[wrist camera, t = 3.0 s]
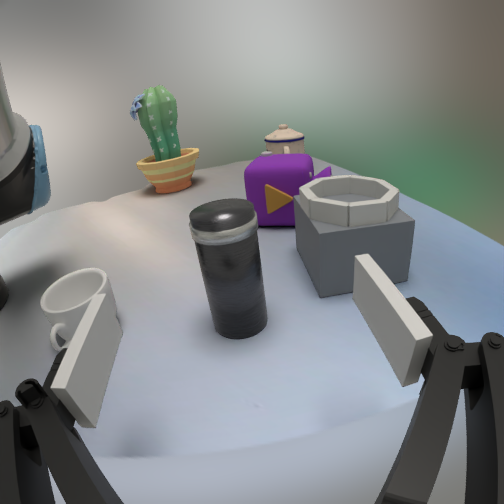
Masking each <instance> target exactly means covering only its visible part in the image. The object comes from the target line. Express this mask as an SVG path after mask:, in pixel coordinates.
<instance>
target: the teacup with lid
mask: <svg viewBox="0 0 504 504" xmlns="http://www.w3.org/2000/svg"><path fill="white" fill-rule="evenodd" d="M265 141H266V148H267V151H270V152H272V154H297V153H300V154H305V152H304V135H303V134H302V133H298V132H296V131H294V130H292V129H288V126H287V124H282V125H279V129H278V130H275V131H274V132H273V133H272V134H270V135H267V136H266V137H265Z"/></svg>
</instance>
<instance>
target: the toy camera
mask: <svg viewBox="0 0 504 504" xmlns="http://www.w3.org/2000/svg"><path fill="white" fill-rule="evenodd" d="M322 177H332V175H331V167H330V166H329V167H327V168H325V169H324V170H323V171H321V172H320V173H319V174H317V175H316V176H314V169H313V161H312V158H311V157H310V156H309V155H308V154H300V153H297V154H272V152H270V151H267V152H262V153H261V156H259V157H257V158H256V159H255V160H254V161H253V162H252V163H250V164H249V165H248V166H247V168H246V169H245V172H244V179H245V188H246V196H247V200H248V201H250V202H252V203H253V205H254V210H255V211H256V213H257V220H258V225H261V226H295V213H294V199H293V196H295V195H300V194H299V188H300V187H301V186H303V185H305V184H307V183H309V182H311V181H313V180H315V179H316V178H317V179H319V178H322Z"/></svg>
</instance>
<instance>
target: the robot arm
mask: <svg viewBox="0 0 504 504" xmlns="http://www.w3.org/2000/svg"><path fill="white" fill-rule="evenodd" d="M50 196H51V190H50V182H49V175H48V170H47V163H46V155H45V149H44V142H43V136H42V131H41V128H40V126H38V125H30V126H28V124H27V122H26V120H25V119H24V118H23V117H22V116H21V115H19V114H17V113H14V112H12V109H11V105H10V102H9V98H8V94H7V90H6V86H5V82H4V77H3V73H2V68H1V64H0V225H2V224H4V223H7V222H9V221H11V220H14V219H16V218H19V217H21V216H23V215H25V214H31V213H32V212H33V211H34V210H36V209H38V208H40V207H43V206H44V205H46V204H47V203H48V201H49V199H50ZM8 293H9V292H8V288H7V286H6V284H5V282H4V280H3V278H2V276H1V275H0V309H1V308H2V307H3V305H4V304H5V302H6V300H7V298H8ZM353 300H354V302H355V304H356V305H357V307H358V309H359V310H360V312H361V314H362V316H363V317H364V319H365V321H366V322H367V324H368V326H369V328H370V329H371V331H372V333H373V335H374V336H375V338H376V340H377V342H378V343H379V345H380V347H381V349H382V351H383V352H384V354H385V356H386V358H387V360H388V361H389V363H390V365H391V367H392V369H393V370H394V372H395V374H396V376H397V378H398V380H399V382H400V383H401V385H402V387H404V386H407V385H410V384H413V383H416V382H418V380H419V377H420V374H422V375H423V377H424V379H425V381H424V383H423V386H422V388H421V391H420V393H419V395H420V396H419V399H418V402H417V405H416V408H415V411H414V414H413V417H412V419H411V422H410V425H409V428H408V430H407V433H406V435H405V438H404V440H403V443H402V445H401V448H400V450H399V453H398V455H397V458H396V460H395V462H394V464H393V467H392V469H391V471H390V473H389V475H388V478H387V480H386V482H385V484H384V486H383V488H382V490H381V492H380V494H379V496H378V498H377V500H376V502H375V504H427V502H428V499H429V497H430V494H431V492H432V489H433V486H434V484H435V481H436V478H437V475H438V472H439V469H440V466H441V463H442V460H443V457H444V454H445V451H446V447H447V443H448V440H449V437H450V433H451V429H452V425H453V421H454V417H455V412H456V408H457V404H458V399H459V394H460V389H464V395H465V410H466V430H467V472H466V492H465V504H504V337H503V336H502V335H500V334H498V333H494V332H490V333H486V334H485V335H484V336H483V337H482V340H481V342H475V343H465V342H464V340H463V339H461V338H460V337H458V336H455V335H449V334H448V333H447V332H446V330H445V329H444V328H443V327H442V325H441V324H440V323H439V322H438V320H437V319H436V318H435V317H434V316H433V314H432V313H431V312H430V310H428V308H427V307H426V306H425V304H424V303H423V302H422V301H420V300H418V299H417V298H415V297H410V298H406V299H405V298H404V297H403V295H402V294H401V293H400V292H399V290H398V289H397V288H396V287H395V285H394V284H393V283H392V282H391V280H390V279H389V278H388V277H387V276H386V274H385V273H384V272H383V271H382V269H381V268H380V267H379V266H378V265H377V263H376V262H375V261H374V260H373V259H372V258H371V256H370V255H369V254H362V255H356V256H355V264H354V285H353ZM122 335H123V331H122V329H121V327H120V325H119V322H118V320H117V318H116V315H115V313H114V311H113V308H112V306H111V304H110V301H109V299H108V296H107V294H106V293H105V294H97V295H94V296H93V298H92V300H91V302H90V304H89V306H88V308H87V310H86V312H85V314H84V316H83V318H82V320H81V322H80V324H79V326H78V328H77V330H76V332H75V334H74V336H73V338H72V340H71V342H70V345H69V347H68V348H63V349H62V350H61V351H60V352H59V353H58V355H57V356H56V358H55V360H54V362H53V365H52V367H51V369H50V371H49V373H48V376H47V378H46V380H45V382H44V385H43V387H41V385H40V384H39V383H38V381H37V380H35V379H27V380H25V381H23V382H22V383H20V385H19V386H18V387H17V389H16V392H15V396H16V398H17V399H18V400H19V401H20V403H21V404H22V406H18V407H14V405H13V404H12V403H11V402H10V401H7V400H5V401H2V402H0V504H55V500H54V495H53V491H52V486H51V482H50V477H49V471H48V468H49V470H50V472H51V474H52V476H53V478H54V480H55V482H56V485H57V486H58V488H59V490H60V492H61V494H62V496H63V498H64V500H65V502H66V504H124V503H123V502H122V501H121V499H120V498H119V497H118V495H117V494H116V492H115V491H114V489H113V488H112V487H111V485H110V484H109V482H108V481H107V479H106V478H105V476H104V475H103V473H102V472H101V470H100V469H99V467H98V465H97V464H96V462H95V461H94V459H93V457H92V456H91V454H90V452H89V451H88V449H87V447H86V446H85V444H84V442H83V440H82V439H81V437H80V435H79V433H78V432H77V430H76V429H75V428H74V427H73V426H74V423H75V420H76V421H77V422H78V424H79V425H80V426H81V427H85V428H96V425H97V421H98V417H99V413H100V409H101V406H102V402H103V398H104V395H105V391H106V387H107V384H108V380H109V377H110V373H111V370H112V367H113V363H114V360H115V357H116V354H117V350H118V347H119V344H120V341H121V338H122ZM47 465H48V466H47Z"/></svg>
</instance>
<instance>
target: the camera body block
mask: <svg viewBox="0 0 504 504" xmlns="http://www.w3.org/2000/svg"><path fill="white" fill-rule="evenodd" d="M299 194H300V195H295V196H293V199H294V213H295V228H296V245H297V250H298V252H299V254H300V256H301V258H302V260H303V262H304V264H305V267H306V269H307V271H308V273H309V275H310V277H311V279H312V281H313V284H314V286H315V288H316V290H317V292H318V294H319V297H320V298H322V297H328V296H334V295H339V294H344V293H350V292H353V285H354V264H355V256H356V255H362V254H369V255H370V256H371V258H372V259H373V260H374V261H375V262H376V263H377V265H378V266H379V267H380V268H381V269H382V271H383V272H384V273H385V274H386V276H387V277H388V278H389V279H390V280H391V282H392V283H393V284H394V283H399V282H404V281H407V279H408V273H409V266H410V259H411V252H412V244H413V235H414V226H415V220H414V219H412V218H411V217H410V216H409V215H407V214H406V213H405V212H403V211H402V210H401V209H399V208H398V205H399V189H397V188H395V187H394V186H392V185H391V184H389V183H387V182H386V181H384V180H381V179H376V178H369V177H362V176H355V175H350V176H349V175H343V176H332V177H322V178H319V179H317V178H316V179H315V180H313V181H311V182H309V183H307V184H305V185H303V186H301V187H300V188H299Z"/></svg>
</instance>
